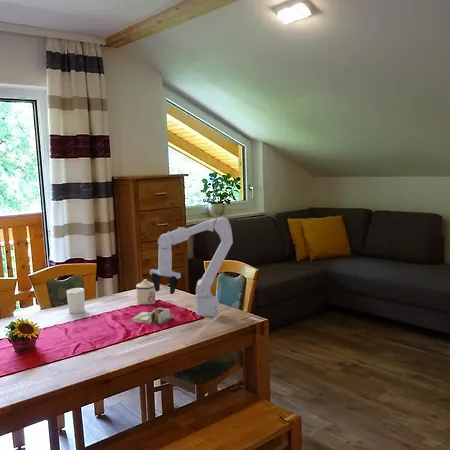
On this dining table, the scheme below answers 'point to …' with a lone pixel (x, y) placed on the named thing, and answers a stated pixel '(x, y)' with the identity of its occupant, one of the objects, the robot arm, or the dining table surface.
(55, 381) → the dining table surface
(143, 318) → the board
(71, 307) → the white cup
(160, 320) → the c link
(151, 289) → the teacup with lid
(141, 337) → the dining table surface
